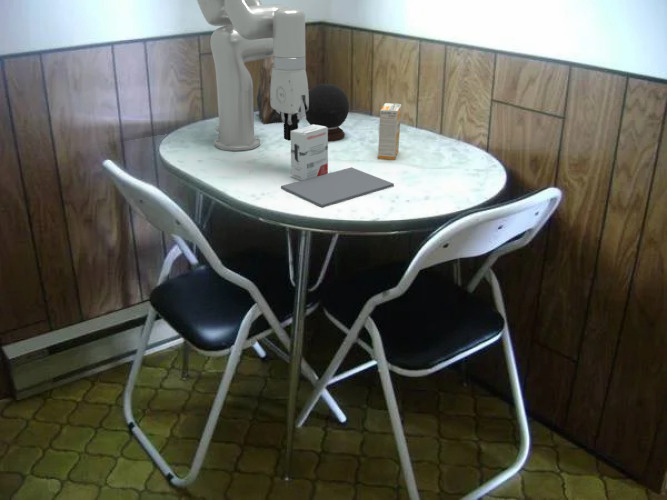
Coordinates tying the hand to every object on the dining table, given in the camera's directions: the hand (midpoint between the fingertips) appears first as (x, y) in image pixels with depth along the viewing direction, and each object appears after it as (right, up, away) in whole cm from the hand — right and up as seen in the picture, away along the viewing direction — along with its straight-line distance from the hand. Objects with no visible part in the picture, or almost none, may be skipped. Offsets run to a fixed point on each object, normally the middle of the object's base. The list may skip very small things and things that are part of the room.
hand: (291, 138), depth 172 cm
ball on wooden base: (+8, +5, +29) cm, 31 cm away
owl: (-8, +13, +45) cm, 48 cm away
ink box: (+5, -9, -2) cm, 11 cm away
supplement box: (+25, -2, +14) cm, 29 cm away
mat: (+12, -13, -9) cm, 19 cm away
